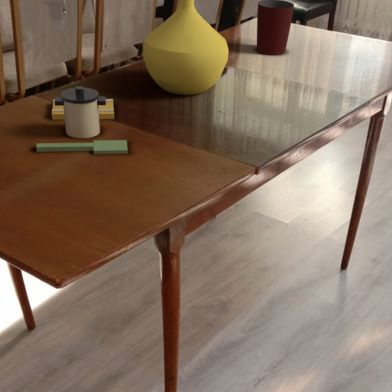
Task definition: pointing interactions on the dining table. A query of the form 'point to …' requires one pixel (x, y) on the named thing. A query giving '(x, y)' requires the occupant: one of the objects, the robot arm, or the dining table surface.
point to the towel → (104, 110)
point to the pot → (81, 111)
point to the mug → (273, 26)
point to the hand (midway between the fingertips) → (59, 22)
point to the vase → (185, 52)
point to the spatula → (87, 147)
